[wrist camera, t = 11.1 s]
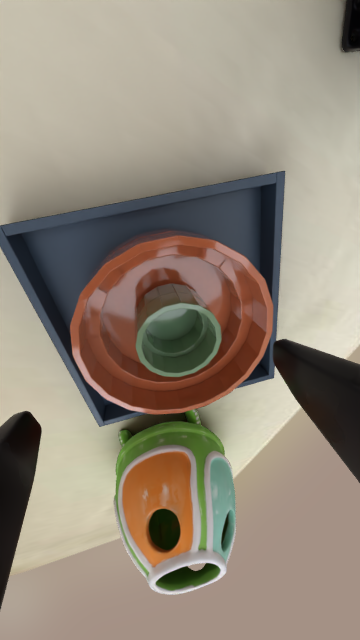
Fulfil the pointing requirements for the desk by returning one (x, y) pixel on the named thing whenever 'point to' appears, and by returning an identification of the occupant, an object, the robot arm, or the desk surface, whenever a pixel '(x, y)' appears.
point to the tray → (120, 225)
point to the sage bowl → (175, 331)
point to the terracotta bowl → (140, 278)
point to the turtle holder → (175, 504)
